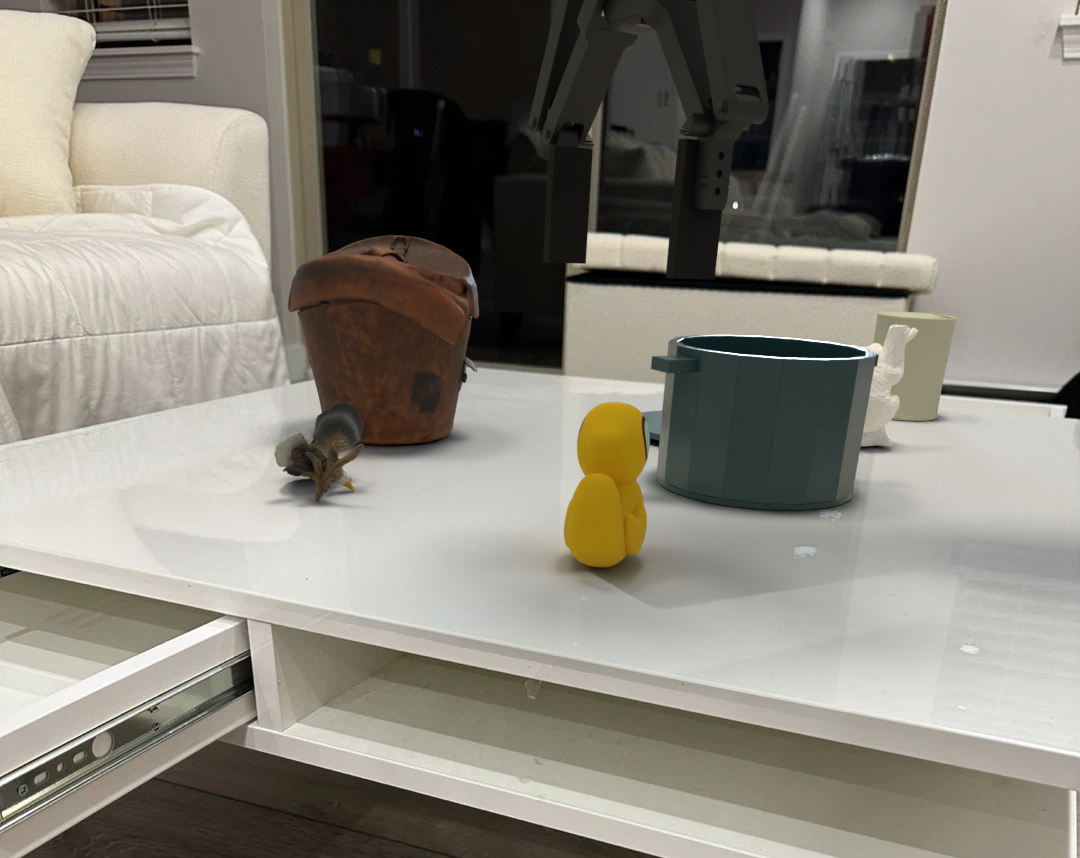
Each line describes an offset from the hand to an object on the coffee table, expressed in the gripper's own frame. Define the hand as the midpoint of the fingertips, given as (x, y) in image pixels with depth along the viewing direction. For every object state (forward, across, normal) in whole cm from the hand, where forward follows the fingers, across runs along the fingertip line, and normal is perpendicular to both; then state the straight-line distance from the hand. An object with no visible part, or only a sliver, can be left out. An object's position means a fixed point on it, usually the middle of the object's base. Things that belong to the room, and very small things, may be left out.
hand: (621, 271), depth 62 cm
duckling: (+18, 0, 0) cm, 18 cm away
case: (+18, -44, +2) cm, 48 cm away
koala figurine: (+18, -25, +48) cm, 57 cm away
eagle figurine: (+18, -24, -11) cm, 32 cm away
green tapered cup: (+18, -39, +67) cm, 80 cm away
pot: (+18, -14, +24) cm, 33 cm away
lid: (+17, -34, +34) cm, 51 cm away
